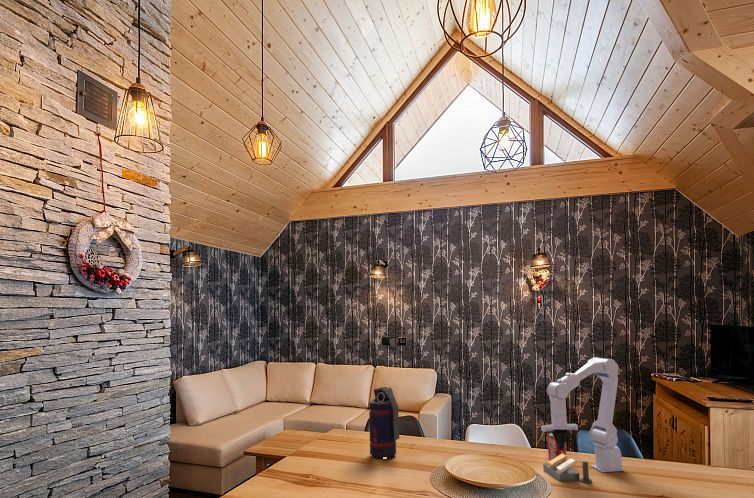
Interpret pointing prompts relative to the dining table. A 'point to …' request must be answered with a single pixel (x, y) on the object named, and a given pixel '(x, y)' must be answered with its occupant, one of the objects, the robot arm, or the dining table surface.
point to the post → (585, 473)
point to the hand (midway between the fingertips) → (560, 449)
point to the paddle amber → (557, 460)
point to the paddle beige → (566, 465)
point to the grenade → (383, 423)
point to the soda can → (554, 448)
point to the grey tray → (561, 473)
